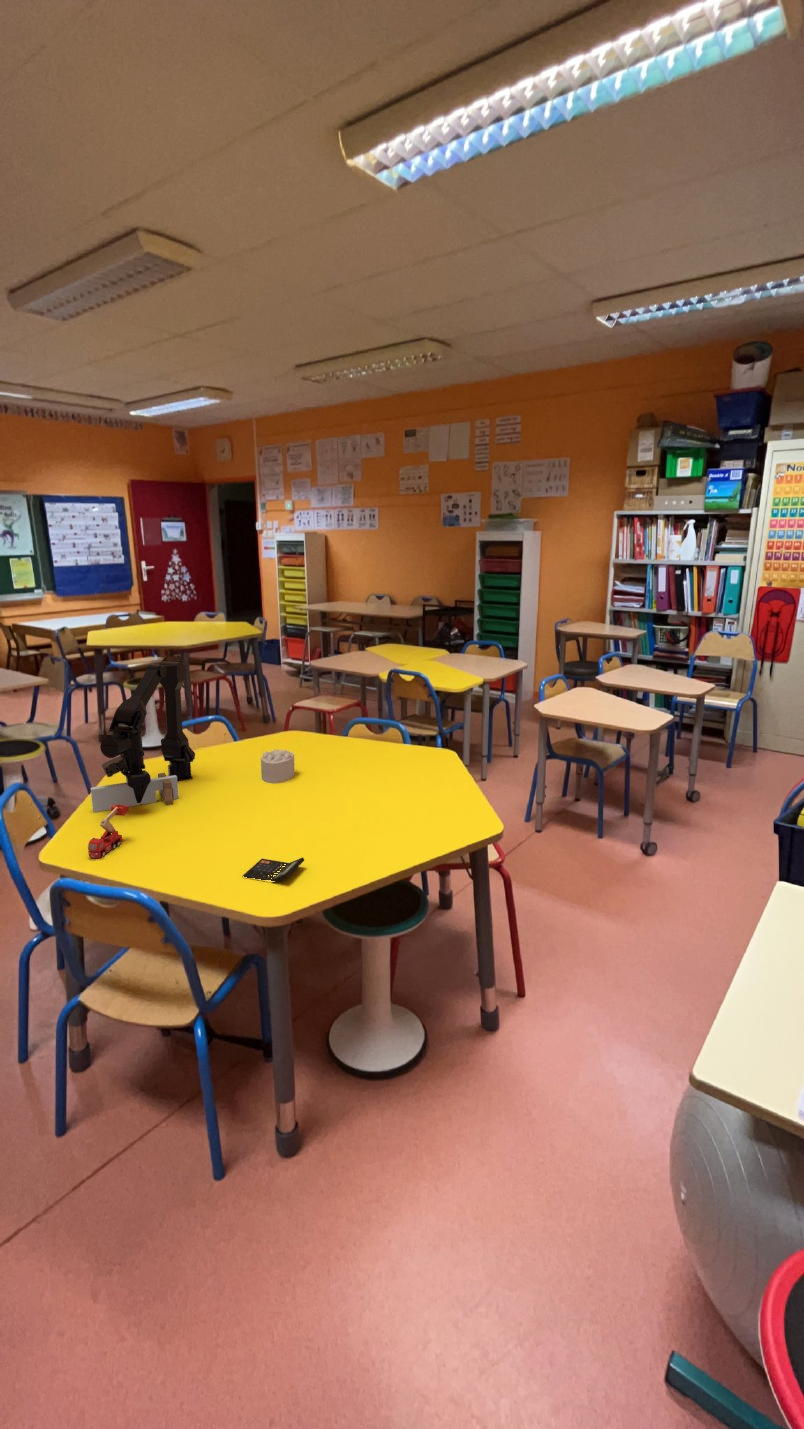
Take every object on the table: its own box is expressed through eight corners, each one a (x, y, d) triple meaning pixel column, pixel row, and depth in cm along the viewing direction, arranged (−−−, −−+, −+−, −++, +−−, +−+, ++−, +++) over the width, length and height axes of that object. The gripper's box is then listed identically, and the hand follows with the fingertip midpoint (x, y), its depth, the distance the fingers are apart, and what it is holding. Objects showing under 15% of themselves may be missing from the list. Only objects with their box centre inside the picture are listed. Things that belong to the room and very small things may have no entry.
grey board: (177, 796, 203) (175, 775, 202) (178, 798, 202) (177, 777, 200) (92, 810, 191) (90, 787, 189) (93, 812, 189) (91, 789, 188)
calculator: (262, 861, 162) (261, 850, 162) (304, 868, 159) (304, 857, 158) (242, 878, 154) (242, 867, 153) (287, 886, 150) (287, 874, 150)
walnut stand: (159, 794, 204) (157, 773, 203) (165, 793, 205) (164, 772, 204) (166, 805, 196) (164, 783, 194) (173, 804, 197) (171, 782, 195)
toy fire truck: (87, 858, 161) (83, 822, 159) (120, 836, 174) (117, 802, 172) (99, 860, 161) (95, 823, 158) (132, 837, 174) (129, 803, 171)
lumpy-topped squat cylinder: (297, 771, 229) (296, 748, 226) (286, 784, 216) (286, 759, 214) (268, 770, 230) (267, 746, 228) (256, 782, 217) (255, 757, 215)
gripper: (98, 743, 196) (103, 792, 200) (106, 760, 180) (111, 813, 184) (137, 739, 201) (141, 786, 205) (149, 755, 186) (153, 806, 190)
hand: (136, 797), depth 196 cm, fingers open, 9 cm apart
